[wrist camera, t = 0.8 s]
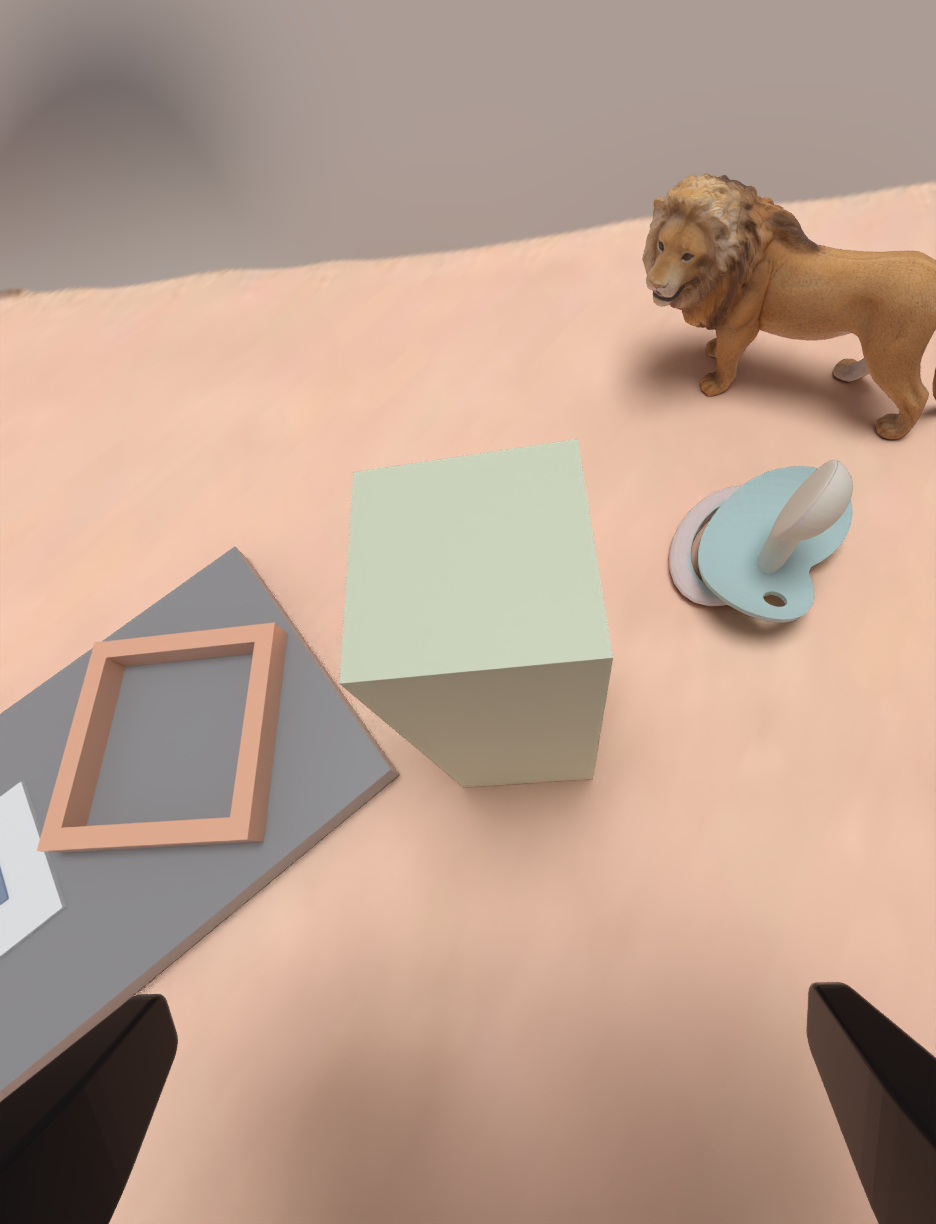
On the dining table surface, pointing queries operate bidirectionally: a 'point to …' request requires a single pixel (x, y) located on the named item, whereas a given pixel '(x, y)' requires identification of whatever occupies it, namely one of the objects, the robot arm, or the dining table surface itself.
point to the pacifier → (764, 540)
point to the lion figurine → (789, 289)
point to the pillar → (480, 613)
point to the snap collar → (94, 723)
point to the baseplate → (158, 813)
